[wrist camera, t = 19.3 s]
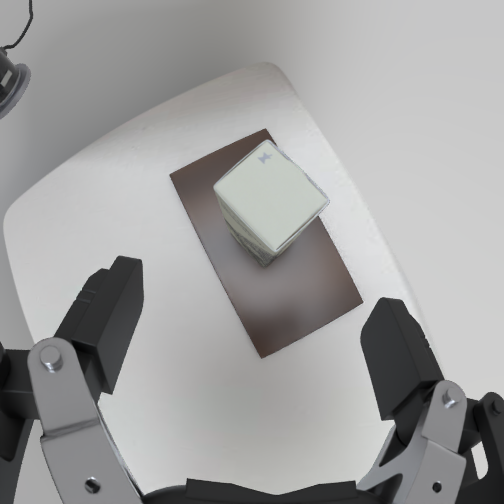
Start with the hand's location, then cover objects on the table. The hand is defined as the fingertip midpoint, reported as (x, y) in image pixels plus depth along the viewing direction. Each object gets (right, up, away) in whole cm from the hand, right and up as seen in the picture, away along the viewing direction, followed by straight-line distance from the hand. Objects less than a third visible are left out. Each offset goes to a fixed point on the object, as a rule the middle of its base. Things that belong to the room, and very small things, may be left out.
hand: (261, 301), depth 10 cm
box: (+1, +3, +19) cm, 19 cm away
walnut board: (+1, +3, +19) cm, 20 cm away
